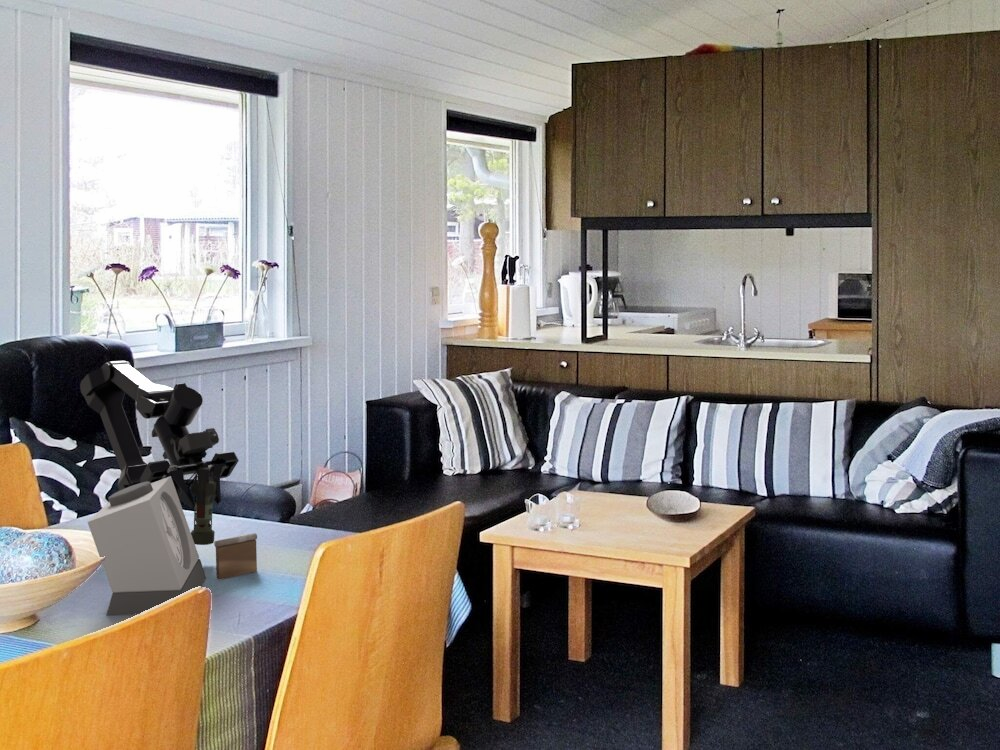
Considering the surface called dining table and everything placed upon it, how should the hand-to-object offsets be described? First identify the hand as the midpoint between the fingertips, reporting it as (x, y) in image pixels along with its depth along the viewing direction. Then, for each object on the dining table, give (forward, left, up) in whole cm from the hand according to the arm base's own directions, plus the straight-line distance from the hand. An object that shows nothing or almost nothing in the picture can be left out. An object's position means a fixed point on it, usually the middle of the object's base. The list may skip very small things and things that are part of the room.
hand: (206, 505), depth 217 cm
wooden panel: (+9, +5, -12) cm, 16 cm away
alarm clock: (+18, -10, -12) cm, 24 cm away
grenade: (-1, -1, -8) cm, 8 cm away
